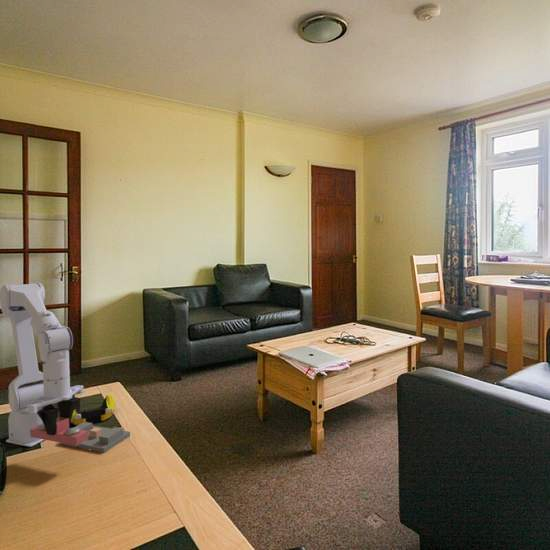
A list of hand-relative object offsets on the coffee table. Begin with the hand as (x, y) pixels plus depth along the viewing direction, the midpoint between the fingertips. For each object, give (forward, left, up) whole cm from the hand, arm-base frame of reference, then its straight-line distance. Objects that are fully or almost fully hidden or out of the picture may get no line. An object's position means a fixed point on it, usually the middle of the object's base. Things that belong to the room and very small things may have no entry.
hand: (58, 430), depth 96 cm
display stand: (0, +12, -8) cm, 14 cm away
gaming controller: (-12, +23, -8) cm, 28 cm away
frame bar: (0, 0, -2) cm, 2 cm away
